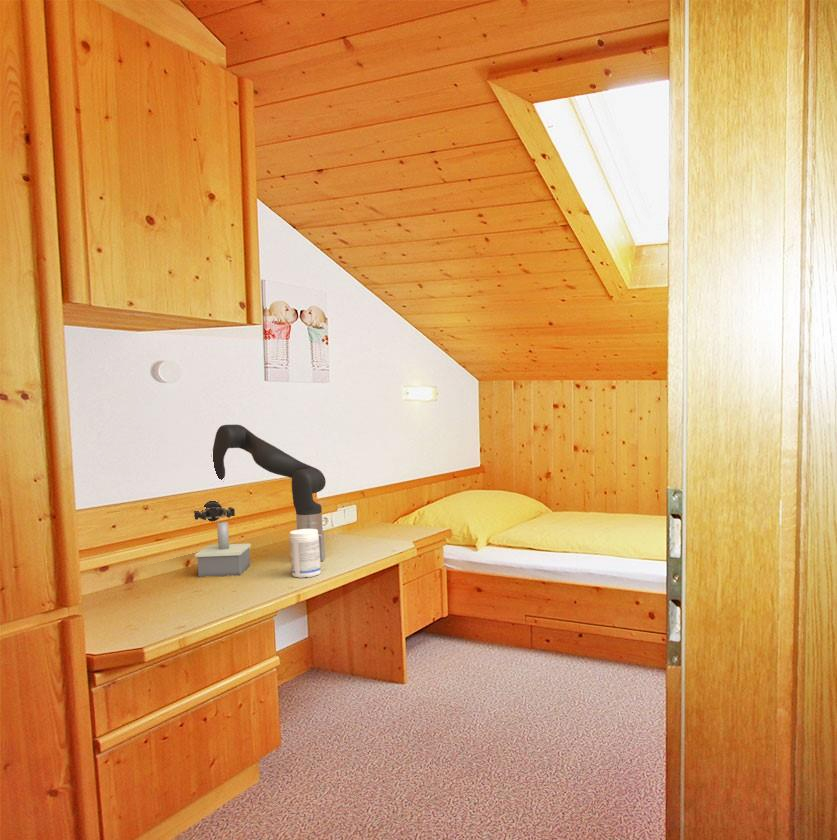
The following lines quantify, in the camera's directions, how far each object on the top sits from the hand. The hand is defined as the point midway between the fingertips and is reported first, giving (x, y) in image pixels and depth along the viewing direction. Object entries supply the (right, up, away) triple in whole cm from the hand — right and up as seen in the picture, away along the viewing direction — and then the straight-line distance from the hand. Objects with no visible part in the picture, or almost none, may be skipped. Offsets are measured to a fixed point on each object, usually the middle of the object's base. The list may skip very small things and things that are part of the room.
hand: (217, 516), depth 259 cm
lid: (+5, -11, -10) cm, 16 cm away
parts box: (+6, -18, -10) cm, 21 cm away
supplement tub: (+35, -17, -20) cm, 44 cm away
